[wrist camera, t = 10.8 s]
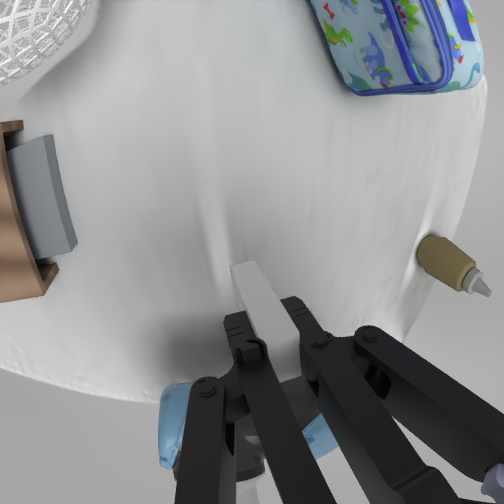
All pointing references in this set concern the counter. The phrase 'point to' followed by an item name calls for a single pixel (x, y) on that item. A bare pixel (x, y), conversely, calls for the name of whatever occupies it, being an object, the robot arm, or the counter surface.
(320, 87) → the counter surface
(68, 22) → the heart
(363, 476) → the robot arm
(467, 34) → the lunch box
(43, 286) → the walnut tunnel
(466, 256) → the squeeze bottle
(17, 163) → the panel
